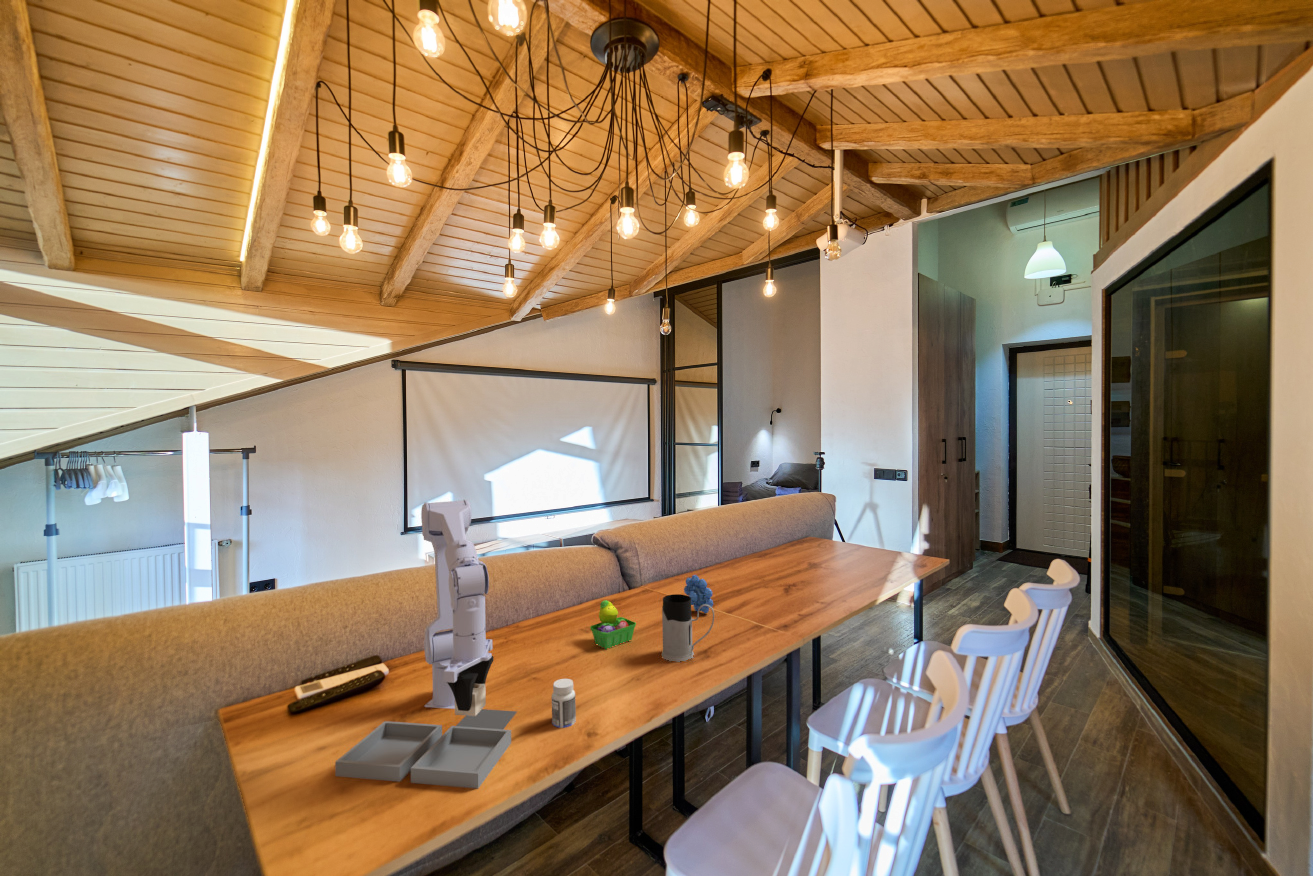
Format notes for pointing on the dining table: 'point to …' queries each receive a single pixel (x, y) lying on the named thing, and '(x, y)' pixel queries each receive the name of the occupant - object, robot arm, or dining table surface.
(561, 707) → the pill bottle
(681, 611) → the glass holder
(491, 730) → the tray
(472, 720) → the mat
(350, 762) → the tray
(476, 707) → the letter cube
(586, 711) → the dining table surface
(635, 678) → the dining table surface
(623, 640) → the fruit basket
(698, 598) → the grapes
